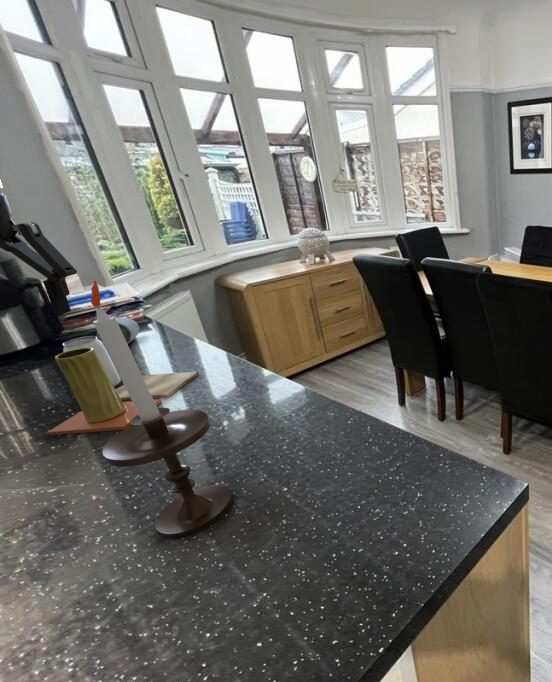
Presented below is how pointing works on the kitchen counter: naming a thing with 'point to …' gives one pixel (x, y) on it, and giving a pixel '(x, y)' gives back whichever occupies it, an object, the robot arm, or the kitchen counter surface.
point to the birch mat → (161, 384)
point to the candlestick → (159, 440)
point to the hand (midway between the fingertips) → (16, 313)
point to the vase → (90, 385)
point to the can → (99, 351)
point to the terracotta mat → (82, 426)
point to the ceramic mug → (126, 329)
